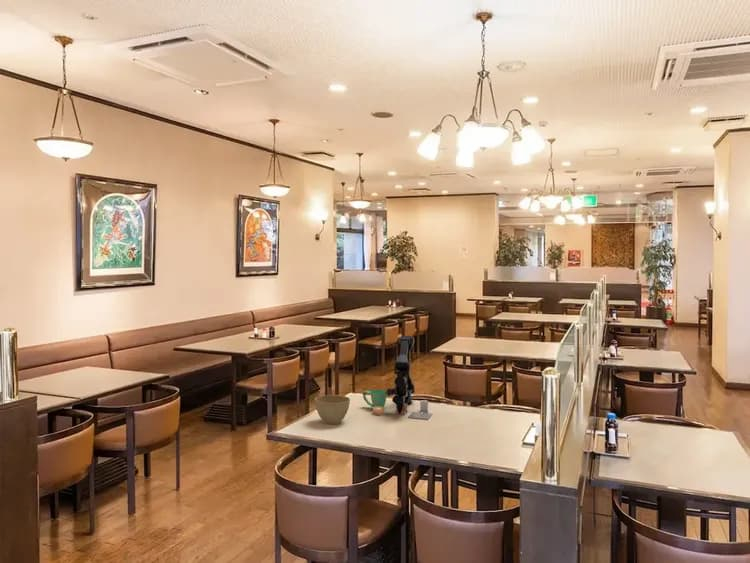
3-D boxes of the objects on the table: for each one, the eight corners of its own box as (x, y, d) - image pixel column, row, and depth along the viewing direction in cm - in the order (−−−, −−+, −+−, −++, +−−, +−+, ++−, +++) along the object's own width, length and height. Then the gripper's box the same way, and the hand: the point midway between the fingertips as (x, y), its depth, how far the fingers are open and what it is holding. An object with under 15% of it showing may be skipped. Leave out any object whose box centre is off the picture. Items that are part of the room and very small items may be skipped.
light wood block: (420, 410, 319) (420, 400, 319) (427, 410, 319) (427, 400, 319) (420, 412, 315) (420, 401, 315) (427, 412, 315) (427, 402, 315)
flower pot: (348, 427, 286) (348, 403, 286) (312, 426, 286) (312, 403, 286) (350, 417, 304) (351, 395, 304) (317, 417, 304) (317, 394, 304)
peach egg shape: (374, 412, 316) (374, 405, 316) (384, 413, 314) (385, 406, 314) (371, 414, 310) (371, 408, 310) (381, 415, 308) (382, 409, 308)
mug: (390, 407, 324) (390, 390, 324) (383, 412, 316) (383, 394, 315) (366, 405, 331) (367, 387, 330) (359, 409, 322) (359, 391, 321)
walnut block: (398, 411, 317) (398, 403, 316) (407, 412, 315) (407, 403, 315) (396, 414, 312) (396, 405, 312) (405, 415, 310) (405, 405, 310)
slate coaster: (412, 412, 314) (412, 411, 314) (432, 414, 311) (432, 413, 311) (407, 418, 304) (407, 417, 304) (428, 419, 300) (428, 418, 300)
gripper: (392, 378, 324) (391, 406, 325) (383, 385, 306) (382, 414, 307) (411, 380, 321) (411, 407, 321) (403, 387, 303) (403, 416, 304)
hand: (401, 411), depth 313 cm, fingers open, 9 cm apart
